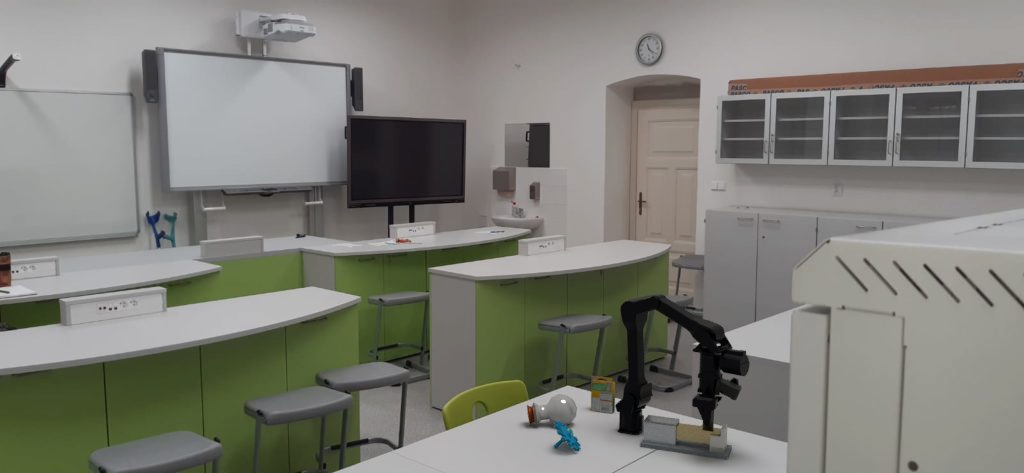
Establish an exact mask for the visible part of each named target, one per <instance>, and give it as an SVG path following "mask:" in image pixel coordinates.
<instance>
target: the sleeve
mask: <svg viewBox="0 0 1024 473" xmlns="http://www.w3.org/2000/svg"><path fill="white" fill-rule="evenodd" d="M680 420H681V419H680V418H674V417H666V416H659V415H652V414H647V416H646V417H645V418H644V429H643V439H644V442H650V443H657V444H664V445H670V446H676V444H677V442H678V441H679V440H678V439H676V426H677V424H678V423H680Z"/></svg>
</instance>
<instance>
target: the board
mask: <svg viewBox="0 0 1024 473" xmlns="http://www.w3.org/2000/svg"><path fill="white" fill-rule="evenodd" d="M639 444H640V445H639V448H645V449H653V450H660V451H667V452H673V453H681V454H687V455H692V456H693V455H694V456H699V457H700V456H701V457H707V458H714V459H721V460H726V461H727V460H729V457H730V454H731V452H732V449H733V446H732V445H731V444H727V447H726V449H725V452H724V453H717V452H710V444H706V443H699V442H692V441H685V440H679V441H678V442H677V444H676V446H670V445H664V444H657V443H650V442H644V438H643V439H642V441H641V442H640V443H639Z"/></svg>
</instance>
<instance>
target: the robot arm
mask: <svg viewBox="0 0 1024 473" xmlns="http://www.w3.org/2000/svg"><path fill="white" fill-rule="evenodd" d="M619 310H620V317H621V318H620V319H621V322H622V324H623V326H624V328H625V330H626V343H627V344H626V349H627V350H626V351H627V352H626V353H627V380H626V382H625V384H624V387H623V394H622V398H621V399H620V400H619V401H618V402H616V403H615V411H616V412H617V413H618V414H619V417H618V418H619V420H618V421H619V423H618V429H617V432H618V433H624V434H632V435H640V433H641V432H642V431H644V420H645V416H644V415H643V410H644V409H646V407H647V404H649V403H650V402H651V400H652V397H653V396H654V394H653V390H652V389H653V383H652V382H648V381H647V379H646V375H645V373H646V372H645V349H644V348H645V346H644V328H645V326H646V323H647V321H648V316H649V312H652V311H657V312H658V313H660V314H662V316H664V317H666V318H668V319H669V320H671V321H673V323H675V324H677V325H678V326H680V327H682V328H683V329H685V330H686V331H688V332H689V334H690V335H691V336H692V338H693V339H694V340H695V341H696V342H697V343H698V344H697V345H696V347H694V348H693V349H692V352H694V353H699V368H698V370H699V371H698V373H697V378H698V387H697V389H696V391H697V394H695V395H694V396H693V398H692V400H691V403H692V404H691V406H692V407H693V408H697V411H698V412H699V415H700V417H701V420H702V423H703V422H704V425H705V426H706V427H709V425H710V421H711V416H712V412H713V411H714V412H715V410H717V408H718V407H719V402H720V401H722V399H723V396H720V395H724V396H725V397H728V398H730V400H732V401H737V399H738V397H739V395H740V393H741V391H742V388H743V387H742V385H740V381H739V378H736V377H732V378H731V379H728V378H727V379H725V378H723V375H724V374H723V373H725V374H729V375H735V376H739V377H746V376H747V375H748V372H749V370H750V365H751V364H750V362H751V361H750V359H749V356H748V355H747V351H746V350H743V349H739V350H738V349H733V345H732V344H731V342H730V341H729V339H728V337H727V335H726V333H725V330H724V329H725V328H724V327H723V326H722V325H721V324H719V323H717V322H714V321H712V320H709V319H705V318H700V317H699V316H696V315H694V313H692V312H690V311H688V310H687V309H685V308H683V307H682V306H680V305H679V304H677V303H675V302H674V301H672V300H671V299H669V298H667V296H666V295H664V294H661V293H660V294H655V295H651V296H650V297H648V298H644V299H643V298H641V297H640V298H634V299H629V300H626V301H624V302H623V303H622V304H621V305H620V309H619Z"/></svg>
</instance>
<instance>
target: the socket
mask: <svg viewBox="0 0 1024 473" xmlns="http://www.w3.org/2000/svg"><path fill="white" fill-rule="evenodd" d="M720 429H721V436H717V435H710V452H717V453H724V452H725V449H726V447H727V445H728V424H727V423H723V425H722V427H721V428H720Z"/></svg>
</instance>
